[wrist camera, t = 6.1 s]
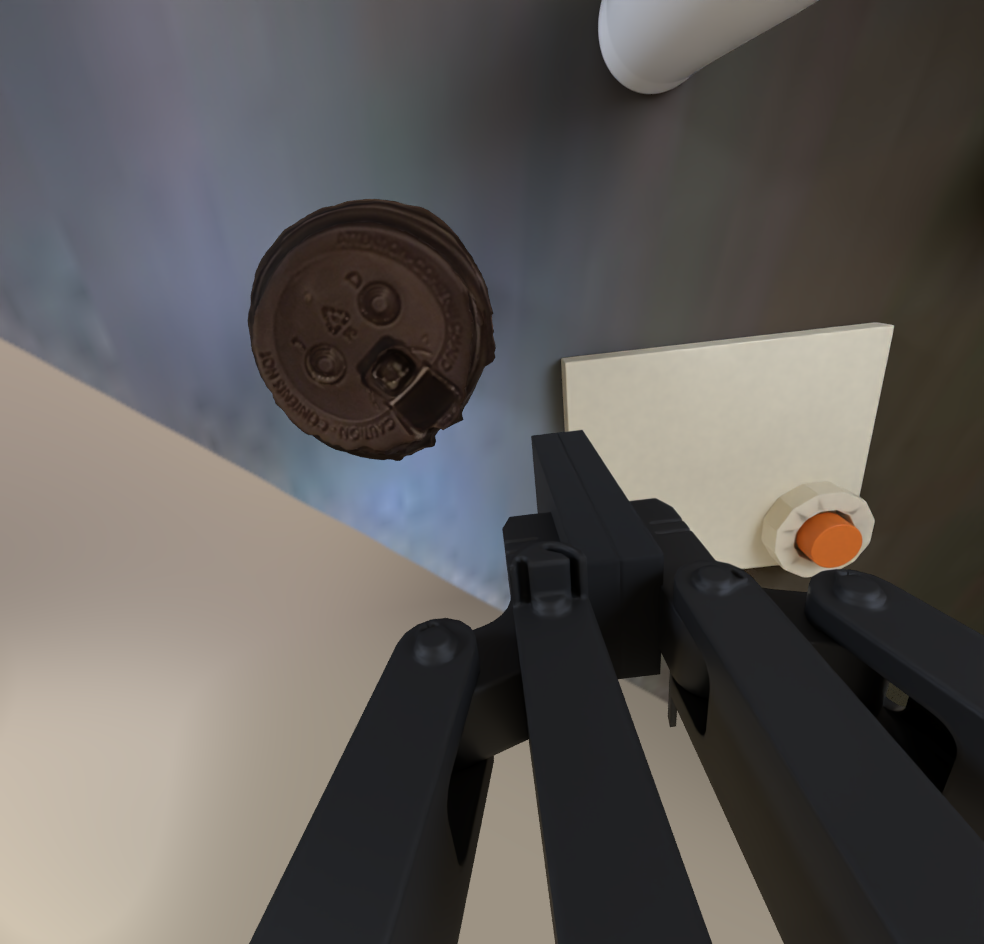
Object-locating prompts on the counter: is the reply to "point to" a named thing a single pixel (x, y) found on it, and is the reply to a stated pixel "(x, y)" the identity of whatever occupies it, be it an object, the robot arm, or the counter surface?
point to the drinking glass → (680, 36)
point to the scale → (739, 433)
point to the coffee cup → (371, 326)
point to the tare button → (829, 540)
